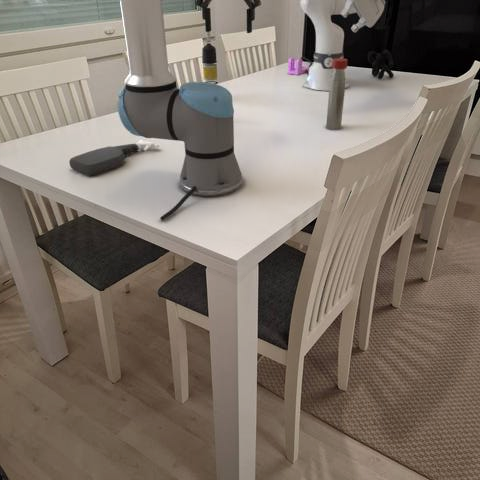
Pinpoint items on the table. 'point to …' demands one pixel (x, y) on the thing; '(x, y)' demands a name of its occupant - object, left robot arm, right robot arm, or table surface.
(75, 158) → the spray bottle
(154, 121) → the left robot arm
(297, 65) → the bracket
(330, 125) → the bottle
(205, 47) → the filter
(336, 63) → the cap
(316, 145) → the table surface
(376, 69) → the squiggle
